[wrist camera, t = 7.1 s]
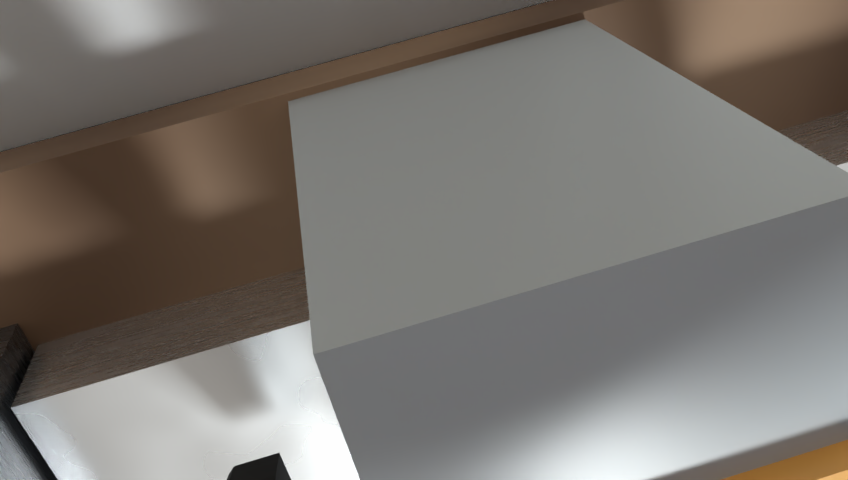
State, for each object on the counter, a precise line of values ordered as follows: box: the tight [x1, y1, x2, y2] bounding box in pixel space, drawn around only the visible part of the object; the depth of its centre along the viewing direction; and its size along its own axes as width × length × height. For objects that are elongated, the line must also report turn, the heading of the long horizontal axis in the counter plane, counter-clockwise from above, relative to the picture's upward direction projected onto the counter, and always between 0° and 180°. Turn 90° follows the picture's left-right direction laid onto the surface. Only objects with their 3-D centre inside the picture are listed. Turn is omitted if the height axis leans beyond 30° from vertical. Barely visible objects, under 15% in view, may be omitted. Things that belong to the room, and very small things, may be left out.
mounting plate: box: [0, 0, 848, 351], centre depth 14 cm, size 18×9×1 cm, turn 103°
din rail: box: [0, 110, 848, 480], centre depth 12 cm, size 18×4×2 cm, turn 103°
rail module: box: [288, 19, 848, 480], centre depth 10 cm, size 4×8×6 cm, turn 13°
